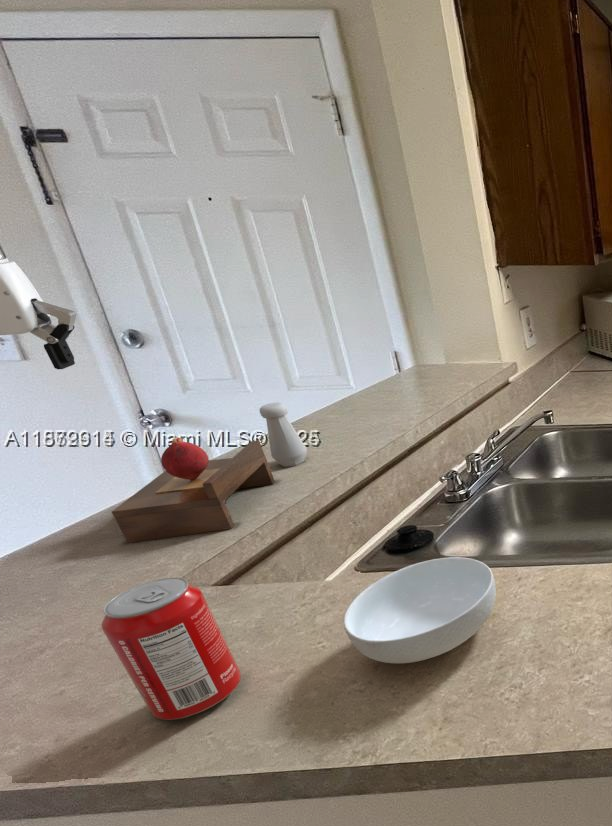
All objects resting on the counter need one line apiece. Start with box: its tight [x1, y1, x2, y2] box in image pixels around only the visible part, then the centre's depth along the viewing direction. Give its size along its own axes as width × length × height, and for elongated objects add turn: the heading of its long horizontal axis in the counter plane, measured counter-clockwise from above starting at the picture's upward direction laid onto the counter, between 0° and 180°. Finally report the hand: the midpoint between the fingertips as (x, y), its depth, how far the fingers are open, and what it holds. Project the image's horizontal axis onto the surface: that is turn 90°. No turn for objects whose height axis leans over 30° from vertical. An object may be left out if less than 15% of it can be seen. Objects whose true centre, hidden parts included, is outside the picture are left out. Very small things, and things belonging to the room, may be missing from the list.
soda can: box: [101, 577, 242, 721], centre depth 69 cm, size 8×8×15 cm
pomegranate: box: [160, 436, 210, 480], centre depth 106 cm, size 6×6×8 cm
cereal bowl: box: [343, 556, 497, 664], centre depth 80 cm, size 17×17×7 cm
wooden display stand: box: [111, 440, 276, 544], centre depth 109 cm, size 14×18×9 cm
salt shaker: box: [259, 402, 308, 468], centre depth 125 cm, size 6×6×13 cm
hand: (24, 369), depth 93 cm, fingers open, 9 cm apart
